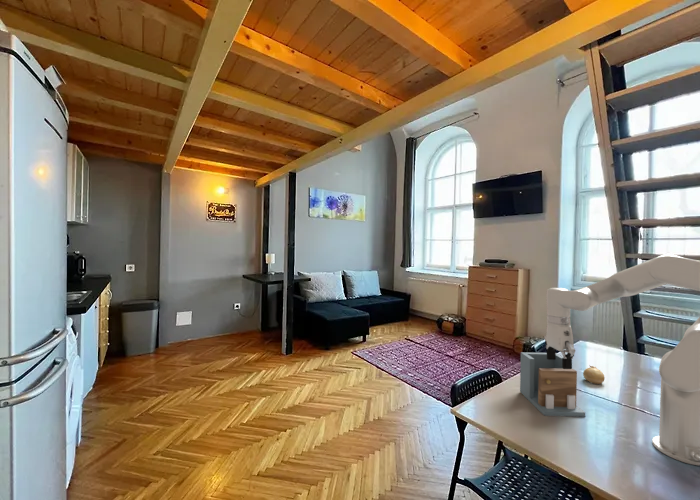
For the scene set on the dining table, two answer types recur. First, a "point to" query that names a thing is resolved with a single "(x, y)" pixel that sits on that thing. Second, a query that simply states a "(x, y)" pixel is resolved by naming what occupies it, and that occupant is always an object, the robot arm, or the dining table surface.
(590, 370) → the onion
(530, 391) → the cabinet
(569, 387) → the door
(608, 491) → the dining table surface
